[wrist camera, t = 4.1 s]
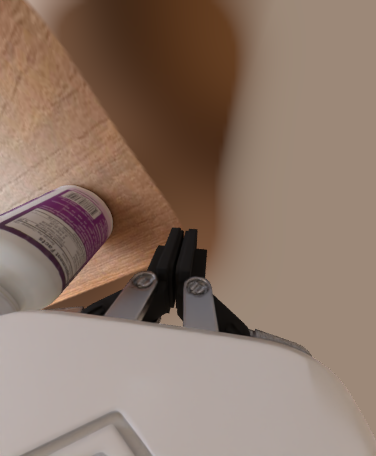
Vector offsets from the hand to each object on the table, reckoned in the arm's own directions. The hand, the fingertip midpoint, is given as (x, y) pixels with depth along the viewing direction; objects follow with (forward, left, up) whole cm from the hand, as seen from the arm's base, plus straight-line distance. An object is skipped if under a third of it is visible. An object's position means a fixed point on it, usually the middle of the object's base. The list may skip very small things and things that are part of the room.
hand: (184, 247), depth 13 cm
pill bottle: (+6, -6, -3) cm, 9 cm away
